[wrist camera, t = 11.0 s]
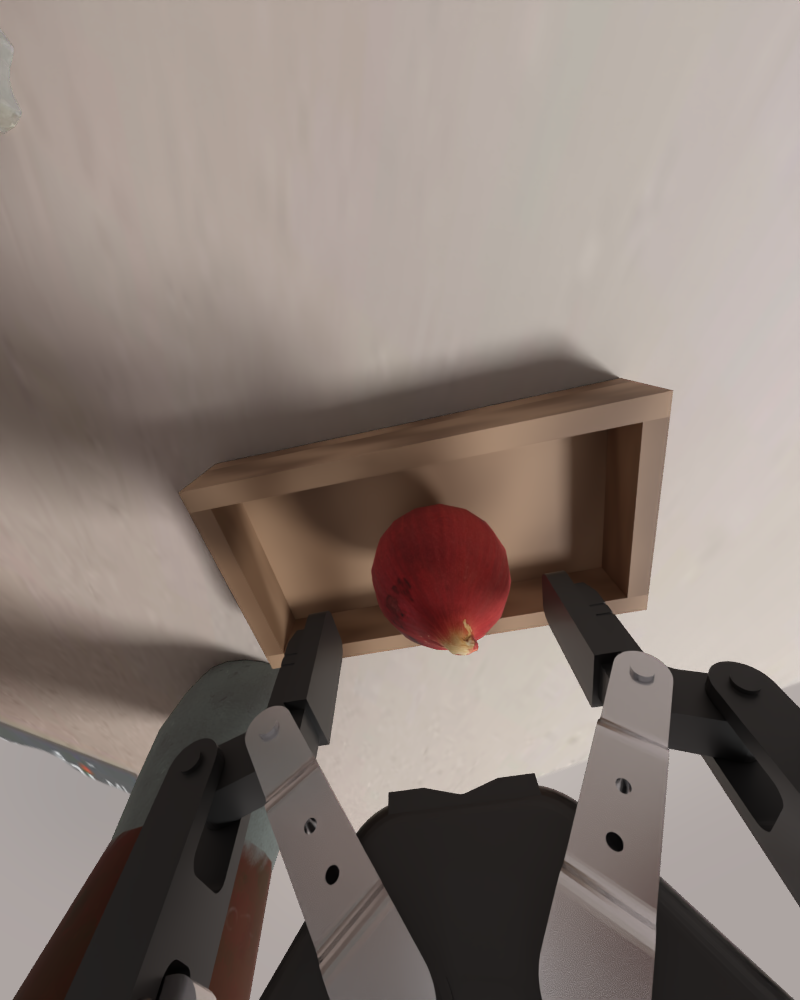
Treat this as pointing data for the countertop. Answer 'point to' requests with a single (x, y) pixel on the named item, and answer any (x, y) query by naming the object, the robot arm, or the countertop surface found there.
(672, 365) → the countertop surface
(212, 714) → the bottle
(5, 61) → the egg carton
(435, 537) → the onion
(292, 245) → the countertop surface
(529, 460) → the wooden tray
